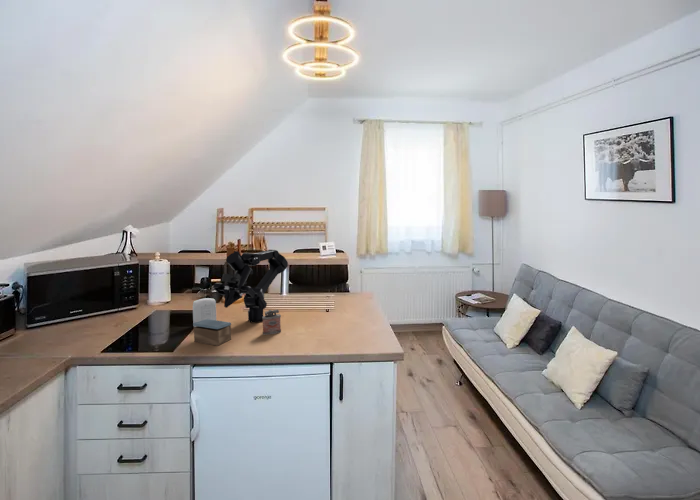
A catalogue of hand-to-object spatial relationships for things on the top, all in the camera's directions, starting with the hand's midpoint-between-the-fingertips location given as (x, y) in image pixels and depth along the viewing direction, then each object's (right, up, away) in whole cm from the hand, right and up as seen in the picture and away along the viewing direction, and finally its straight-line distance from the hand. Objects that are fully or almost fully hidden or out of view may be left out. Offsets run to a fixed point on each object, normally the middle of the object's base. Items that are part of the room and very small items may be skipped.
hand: (225, 307), depth 179 cm
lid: (-3, -6, -7) cm, 10 cm away
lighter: (+19, -12, +4) cm, 23 cm away
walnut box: (-3, -13, -6) cm, 15 cm away
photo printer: (-14, -10, +15) cm, 22 cm away
